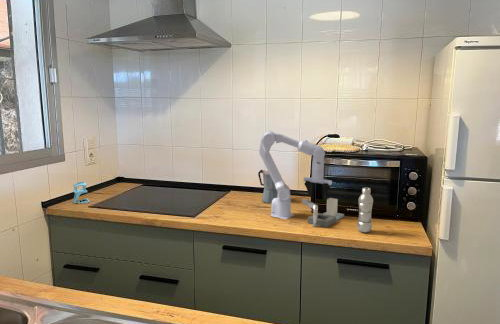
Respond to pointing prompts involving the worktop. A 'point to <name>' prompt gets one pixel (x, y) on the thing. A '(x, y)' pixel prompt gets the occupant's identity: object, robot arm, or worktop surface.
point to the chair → (79, 192)
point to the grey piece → (315, 210)
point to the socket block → (323, 220)
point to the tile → (337, 216)
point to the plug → (332, 206)
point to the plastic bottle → (365, 210)
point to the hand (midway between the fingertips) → (317, 197)
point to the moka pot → (267, 187)
